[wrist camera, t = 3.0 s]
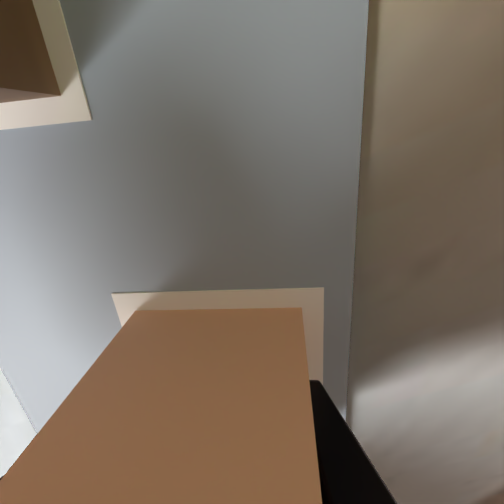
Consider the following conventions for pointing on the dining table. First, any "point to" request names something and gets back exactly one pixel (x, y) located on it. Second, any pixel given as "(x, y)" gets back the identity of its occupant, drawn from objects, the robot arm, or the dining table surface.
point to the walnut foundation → (23, 55)
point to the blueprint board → (180, 179)
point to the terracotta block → (182, 417)
